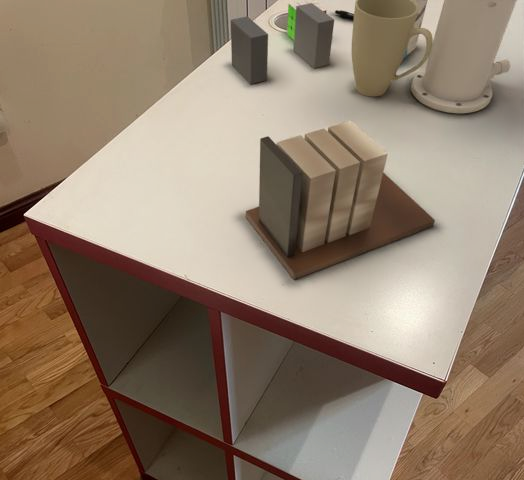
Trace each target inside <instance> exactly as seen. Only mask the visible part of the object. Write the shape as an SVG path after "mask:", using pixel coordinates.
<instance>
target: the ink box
mask: <svg viewBox="0 0 524 480" xmlns="http://www.w3.org/2000/svg"><path fill="white" fill-rule="evenodd" d="M413 1H414V2H415V3H416V4H417V5H418V8H419V9H418V13H417V17H416V20H415V24H414V27H413V28H422V25H423V20H424V16H425V13H426V8H427V4H428V0H413ZM419 36H420V34H416V35H414V36H412V37H411V38H410V40H409V43H408V46H407V49H406V52H405V55H404V57H403V60H404V59H405V58H406V57H407V56H409V54H411V53H412V52H413V51H414V50H415V49H416V48H417V44H418V40H419Z"/></svg>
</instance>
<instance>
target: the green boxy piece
mask: <svg viewBox="0 0 524 480" xmlns="http://www.w3.org/2000/svg"><path fill="white" fill-rule="evenodd" d="M309 3H312V4H314V5H315V6H317V7H318V8H319V9H321V10H322V11H323V12H325V13H326V14H327V11H328V10H327V9H326V8H324V7H323V6H322V5H321V4H320V3H318V2H317V1H316V0H302V1H296V2H291V3H288V5H287V7H288V8H287V23H286V24H287V25H286V35H287V36H288V37H289V38H290V39H291V40H292V41H294V34H295V19H296V6H300V5H304V4H309Z"/></svg>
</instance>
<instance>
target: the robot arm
mask: <svg viewBox="0 0 524 480" xmlns="http://www.w3.org/2000/svg"><path fill="white" fill-rule="evenodd" d="M517 1H518V0H443V2H442V7H441V11H440V14H439V18H438V21H437V26H436V29H435V34H434V36H433V41H432V48H431V52H430V54H429V57H428V59H427V61H426V65H425V69H423V70H421V71H419V72H418V73H416V74H415V75H414V76H413V78H412V80H411V84H410V91H411V94H412V96H413V97H414V98H415V100H417V101H419V103H421V104H423V105H424V106H427V107H429V108H431V109H432V110H433V109H434V110H436V111H439V112H443V113H450V114H471V113H475V112H478V111H481V110H483V109H485V108H486V107H488V105H489V104H490V102H491V99H492V98H493V93H494V92H493V89H492V86H491V85H490V82H491V80H492V79H494V78H495V76H499V75H502V74H505V73H508V72H509V71H510V69H511V63H510V61H509V59H502V60H498V61H496V62H495V60H496V57H497V55H498V52H499V50H500V46H501V44H502V42H503V39H504V35H505V33H506V31H507V28H508V26H509V22H510V20H511V17H512V15H513V12H514V9H515V7H516V4H517Z"/></svg>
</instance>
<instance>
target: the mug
mask: <svg viewBox="0 0 524 480" xmlns="http://www.w3.org/2000/svg"><path fill="white" fill-rule="evenodd" d="M418 9H419V8H418V5H417V4H416V3H415V2H414V1H413V0H355V3H354V12H353V14H354V20H353V23H352V34H351V64H352V71H353V77H354V86H355V90H356V92H358V93H359V94H360V95H363V96H366V97H381V96H383V95H384V94H385V93H386V91H387V90H388V88H389V86H390V84H391V83H392V82H393V81H394V82H395V81H397V80H398V81H399V80H400V79H402V78H404V77H406V76H409V75H410V74H412V73H414V72H415V71H418V69H420V68H421V67H422V66H423V65H424V64H425V63H427V61H428V58H429V55H430V52H431V48H432V44H433V40H434V38H433V34H432V32H431V31H430V30H429V29H428V28H425V27H421V28H413V27H414V24H415V20H416V17H417V13H418ZM416 34H419V35H423V37H424V38H425V42H426V43H425V44H426V48H425V52H424V56H423V58H422V59H421V61H420V62H419V63H417V64H416V65H415V66H413V67H412V68H410V69H408V70H406V71H405V72H403V73H401V74H397V73H398V70H399V68H400V66H401V64H402V62H403V60H404V59H403V57H404V55H405V52H406V49H407V46H408V43H409V40H410V38H411V37H412V36H414V35H416Z"/></svg>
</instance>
